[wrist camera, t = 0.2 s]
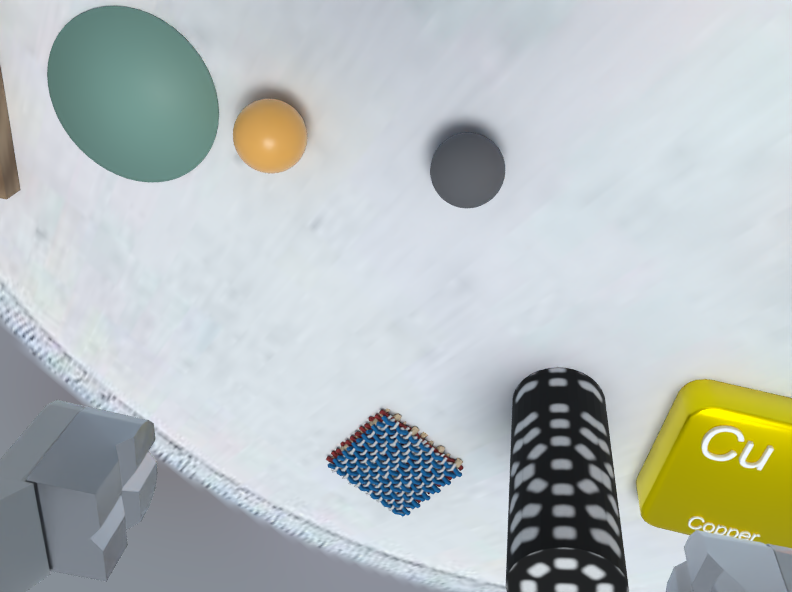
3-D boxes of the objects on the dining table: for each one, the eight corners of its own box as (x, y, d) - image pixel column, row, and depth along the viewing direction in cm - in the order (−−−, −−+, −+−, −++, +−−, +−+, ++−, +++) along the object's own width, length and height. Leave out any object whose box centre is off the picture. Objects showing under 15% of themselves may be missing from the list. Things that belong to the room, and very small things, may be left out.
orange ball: (246, 83, 58) (222, 106, 53) (317, 95, 58) (298, 119, 53) (246, 151, 61) (222, 177, 56) (312, 163, 60) (294, 190, 56)
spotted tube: (605, 366, 66) (630, 549, 49) (604, 439, 70) (627, 630, 54) (510, 368, 68) (502, 545, 51) (514, 438, 72) (509, 623, 55)
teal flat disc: (37, -8, 57) (36, -8, 57) (218, 22, 56) (217, 22, 56) (59, 165, 64) (58, 166, 64) (219, 194, 63) (218, 195, 63)
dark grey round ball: (440, 116, 57) (432, 142, 52) (512, 128, 57) (511, 155, 52) (429, 183, 60) (421, 213, 55) (498, 195, 59) (495, 226, 55)
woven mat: (386, 398, 73) (382, 412, 71) (468, 459, 75) (467, 473, 74) (323, 453, 78) (318, 467, 76) (402, 508, 80) (399, 523, 79)
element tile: (629, 489, 74) (634, 527, 70) (686, 371, 66) (696, 406, 62) (781, 525, 73) (796, 566, 69) (858, 410, 65) (880, 448, 61)
